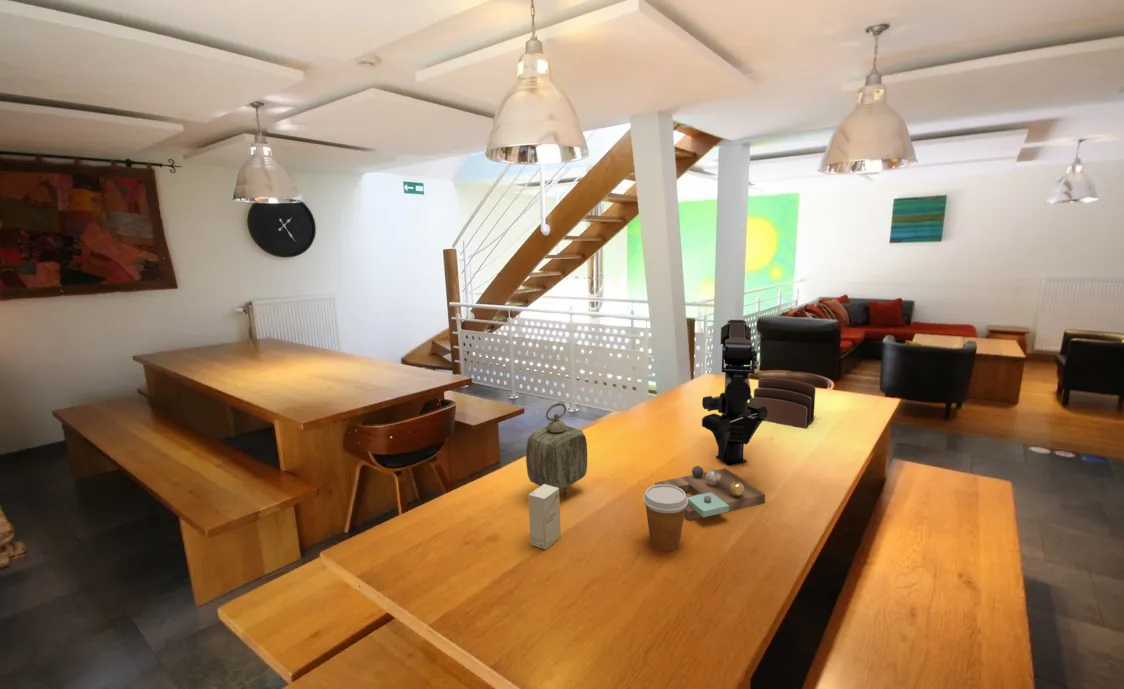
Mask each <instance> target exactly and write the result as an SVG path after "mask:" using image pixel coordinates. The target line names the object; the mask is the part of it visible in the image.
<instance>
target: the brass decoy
mask: <svg viewBox="0 0 1124 689" xmlns="http://www.w3.org/2000/svg"><path fill="white" fill-rule="evenodd" d="M729 490H730V493H731V494H732V495H733V496H736V497H739V496H742V495H743V494H744V491H745V489H744V486H743V484H742V483H740V482H733V483H731V485H730V487H729Z"/></svg>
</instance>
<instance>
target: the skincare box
mask: <svg viewBox="0 0 1124 689" xmlns="http://www.w3.org/2000/svg"><path fill="white" fill-rule="evenodd" d="M527 495H528V496H527V497H528V514H529V515H528V516H529V519H528V520H529V535H530V536H529V537H530V538H529V541H530V545H531V546H533V547H537V548H540V549H542V550H547V549H548V548H550V547H551V546H553V545H554V544H555V543H556V542H557V541H559V539H561V536H562V531H561V508H560V506H561V504H560V502H561V501H560V489H559V488H557V487H554V486H550V485H547V484H543V485H542V486H538V487H537V488H536V489H534V490H533V491H532V492H530V493H528V494H527Z"/></svg>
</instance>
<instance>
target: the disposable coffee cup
mask: <svg viewBox="0 0 1124 689" xmlns="http://www.w3.org/2000/svg"><path fill="white" fill-rule="evenodd" d="M687 497H688V496H687V493H686V494H685V492H684V491H683V490H682V489H680V488H678V487H676V486H672V485H664V484H661V485H655V484H654V485H652V486H649V487H648V488H646V490H645V493H644V494H643V498H642V499H643V500H642V501H643V502H644V505H645V511H646V518H647V519H646V520H647V525H648V533H649V541H650V545H651V547H652V548H654V549H655V550H657V551H660V552H664V553H668V552H674V551H676V550H678V549H679V548H680V544H681V539H682V538H681V537H682V531H683V526H684V518H685V517H684V513H685V508H686V506H687V504H688V498H687Z"/></svg>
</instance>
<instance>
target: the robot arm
mask: <svg viewBox="0 0 1124 689" xmlns="http://www.w3.org/2000/svg"><path fill="white" fill-rule="evenodd" d="M720 345H722V349H721V350H722V351H721V373H724V391H723V392H721V393H720V395H719V396H718V395H717V396H712V395H708V396H704V397H702V400H701V404H702V408H703V409H704V410H707V411H708V412H712V411H717V412H718V413H719V414H717V413H711V414H708V415H705V416H703V417H702V418H701V427H702V428H705V429H706V430H708V431H710V432H711V433H712V434H713V436H714V439H715V442H716V445H717V448H718V449H717V450H718V452H717V455H716V456H715V458H716V459H717V460H719V461H720V462H722V463H724V465H727V466H734V465H739V464H740V465H741V464H744V463H747V461H748V460H746V459H745V458H744V446H747V445H748V444H749V443H750V440H752V437H753V436H754V434H755V432H756V431H757V429H758V428H759V426H760V425H761V423H763V422H765V421H764V419H763V418H766V417H767V413H768V410H767V409H766V407H765V406H763V405H760V404H756V403H753V402H749V400H750V399H752V396H753V395H752V390H751V383H750V374H754V375H755V370H757V369H758V351H756V347H755V346H753V343H752V328H751V327H750V326H748V325H747V321H746V320H744V319H729V320H727V322H726V324H725V325H723V326H722V327H720ZM720 414H721V415H720Z"/></svg>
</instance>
